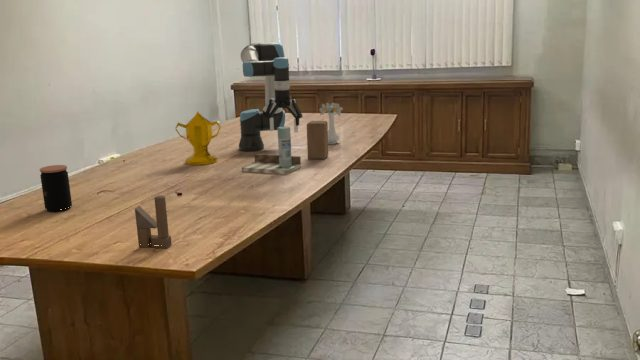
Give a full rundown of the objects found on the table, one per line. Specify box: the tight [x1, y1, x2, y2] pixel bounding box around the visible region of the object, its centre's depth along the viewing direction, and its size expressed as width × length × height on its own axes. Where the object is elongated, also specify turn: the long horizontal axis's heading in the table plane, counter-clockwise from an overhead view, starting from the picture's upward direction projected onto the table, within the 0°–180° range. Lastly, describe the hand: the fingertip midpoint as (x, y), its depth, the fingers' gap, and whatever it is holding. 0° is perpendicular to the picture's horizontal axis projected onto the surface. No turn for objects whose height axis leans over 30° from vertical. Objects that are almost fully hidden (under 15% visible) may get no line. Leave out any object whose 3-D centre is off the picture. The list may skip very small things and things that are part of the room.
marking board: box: [241, 153, 302, 175], centre depth 330 cm, size 26×16×6 cm, turn 67°
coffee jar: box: [39, 164, 73, 213], centre depth 269 cm, size 11×11×18 cm
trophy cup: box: [175, 111, 222, 166], centre depth 350 cm, size 18×24×28 cm
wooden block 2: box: [134, 195, 172, 249], centre depth 219 cm, size 4×11×18 cm, turn 80°
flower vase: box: [318, 102, 344, 145], centre depth 393 cm, size 13×18×25 cm
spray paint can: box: [277, 125, 292, 167], centre depth 325 cm, size 6×6×20 cm
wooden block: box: [306, 120, 329, 160], centre depth 353 cm, size 10×10×20 cm
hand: (284, 131), depth 323 cm, fingers open, 13 cm apart
